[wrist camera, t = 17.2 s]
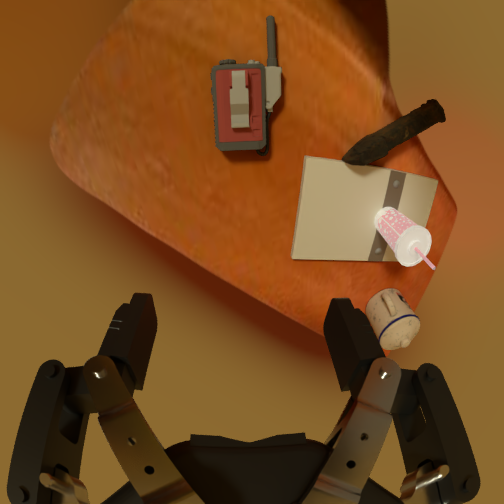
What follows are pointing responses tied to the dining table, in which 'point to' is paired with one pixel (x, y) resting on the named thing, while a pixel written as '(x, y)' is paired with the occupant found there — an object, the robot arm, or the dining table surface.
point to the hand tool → (394, 134)
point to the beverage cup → (404, 237)
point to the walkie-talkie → (246, 99)
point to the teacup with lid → (392, 319)
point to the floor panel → (354, 209)
